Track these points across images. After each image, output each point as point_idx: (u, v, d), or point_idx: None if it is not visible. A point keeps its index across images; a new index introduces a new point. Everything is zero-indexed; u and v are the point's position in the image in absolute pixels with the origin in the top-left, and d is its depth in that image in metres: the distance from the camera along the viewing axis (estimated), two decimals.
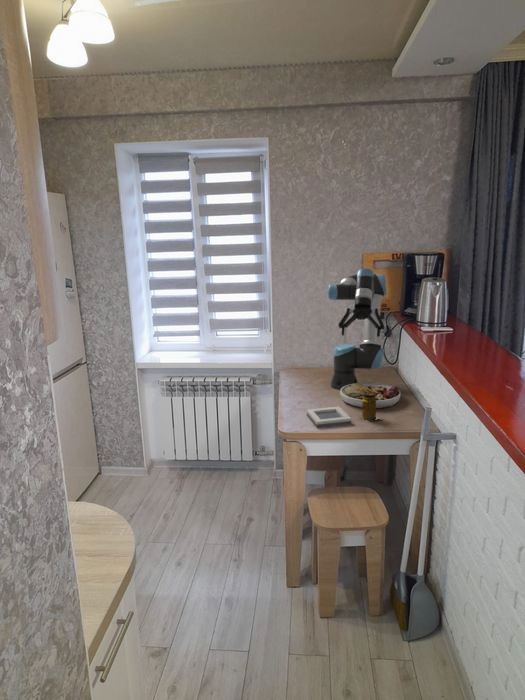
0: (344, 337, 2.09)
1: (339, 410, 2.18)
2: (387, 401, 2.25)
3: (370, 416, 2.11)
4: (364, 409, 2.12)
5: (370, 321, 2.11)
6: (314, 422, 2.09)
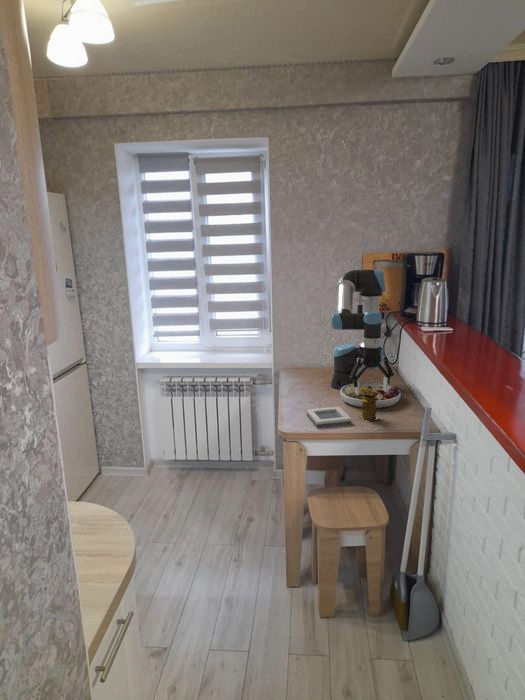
0: (358, 391, 2.09)
1: (339, 410, 2.18)
2: (387, 401, 2.25)
3: (370, 416, 2.11)
4: (364, 409, 2.12)
5: None
6: (314, 422, 2.09)
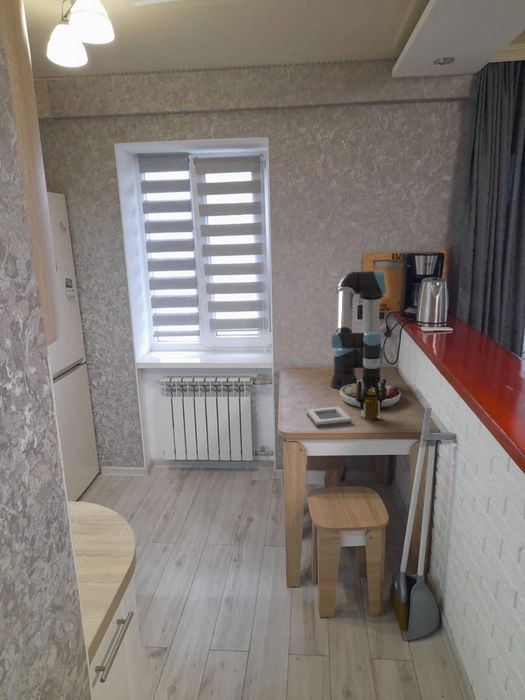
0: (364, 413, 2.12)
1: (339, 410, 2.18)
2: (387, 401, 2.25)
3: (372, 416, 2.11)
4: None
5: (374, 389, 2.13)
6: (314, 422, 2.09)
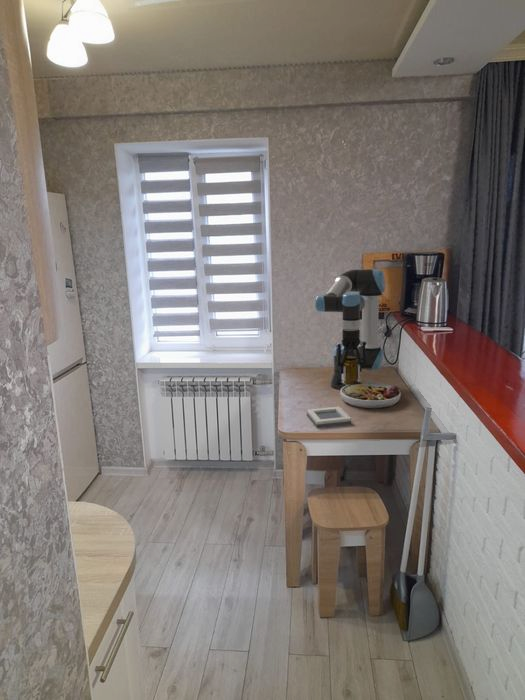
0: (344, 377, 2.08)
1: (339, 410, 2.18)
2: (387, 401, 2.25)
3: (352, 380, 2.08)
4: (346, 373, 2.08)
5: (354, 352, 2.09)
6: (314, 422, 2.09)
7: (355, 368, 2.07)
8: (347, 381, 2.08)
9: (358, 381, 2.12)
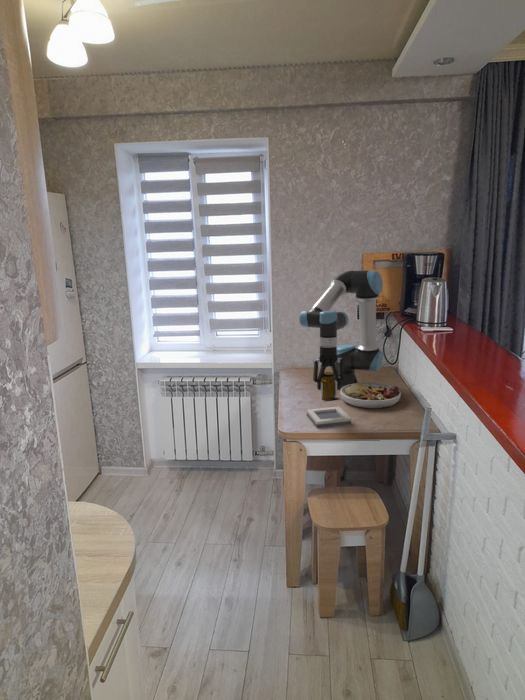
0: (321, 393, 2.10)
1: (339, 410, 2.18)
2: (387, 401, 2.25)
3: (329, 396, 2.09)
4: (323, 389, 2.10)
5: (332, 369, 2.11)
6: (314, 422, 2.09)
7: (332, 384, 2.09)
8: (324, 397, 2.10)
9: (336, 397, 2.14)
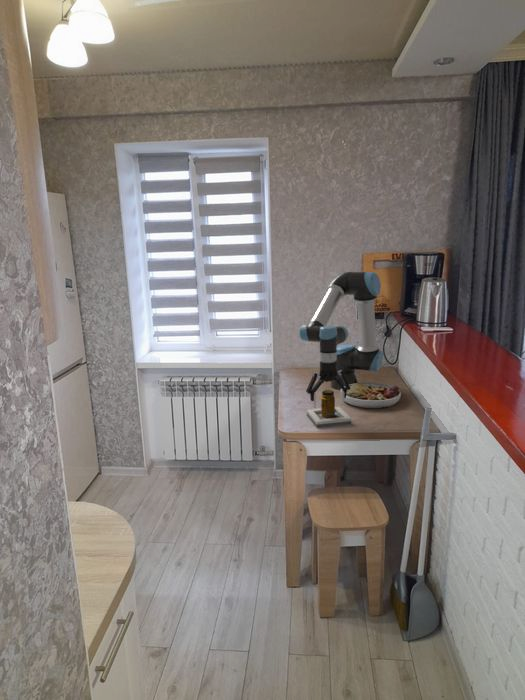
0: (314, 405, 2.11)
1: (339, 410, 2.18)
2: (387, 401, 2.25)
3: (329, 414, 2.11)
4: (323, 407, 2.12)
5: (335, 382, 2.13)
6: (314, 422, 2.09)
7: (332, 402, 2.11)
8: (324, 415, 2.12)
9: (336, 415, 2.16)
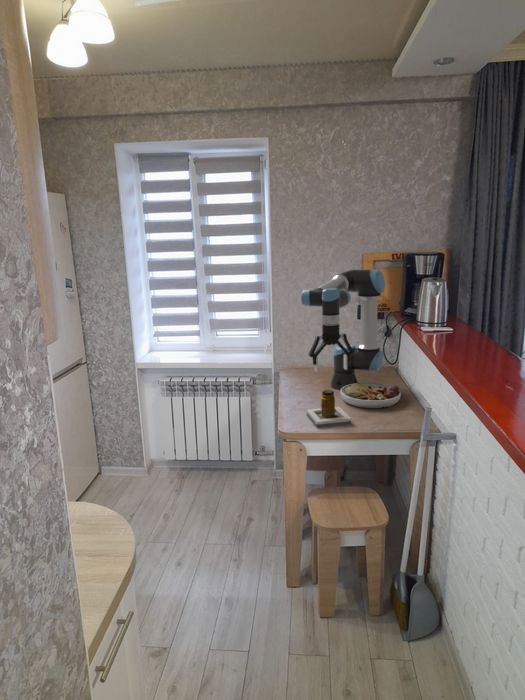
0: (317, 368, 2.08)
1: (339, 410, 2.18)
2: (388, 401, 2.25)
3: (329, 414, 2.11)
4: (323, 407, 2.12)
5: (338, 345, 2.10)
6: (314, 422, 2.09)
7: (332, 402, 2.11)
8: (324, 415, 2.12)
9: (336, 415, 2.16)
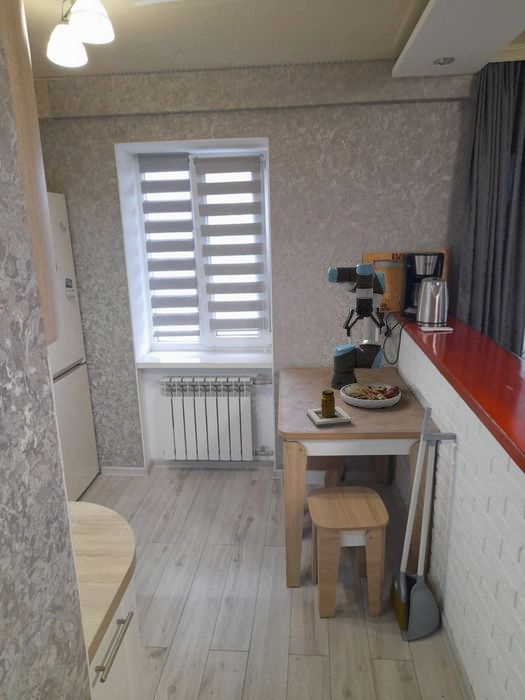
0: (351, 340, 2.18)
1: (339, 410, 2.18)
2: (388, 401, 2.25)
3: (329, 414, 2.11)
4: (323, 407, 2.12)
5: (371, 318, 2.20)
6: (314, 422, 2.09)
7: (332, 402, 2.11)
8: (324, 415, 2.12)
9: (336, 415, 2.16)
